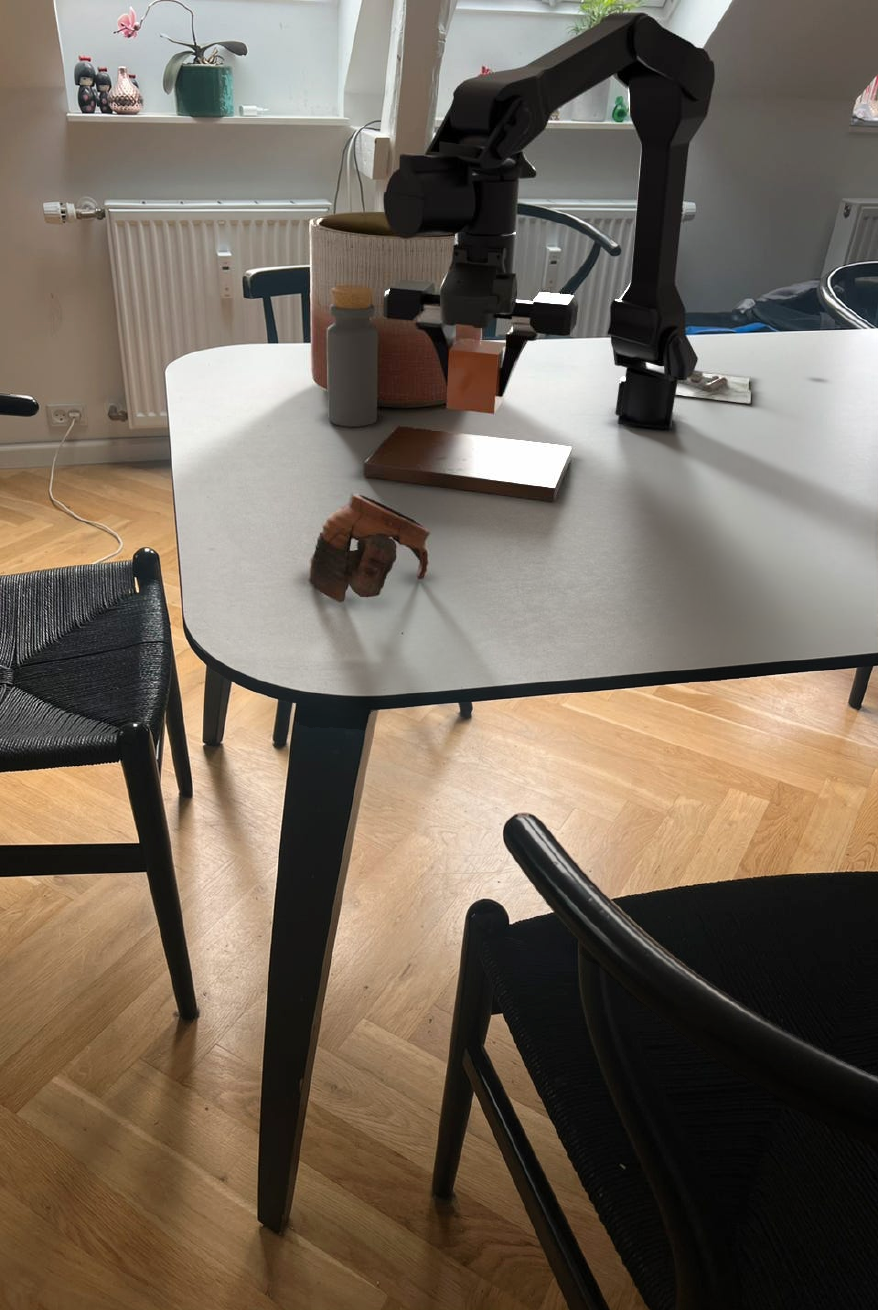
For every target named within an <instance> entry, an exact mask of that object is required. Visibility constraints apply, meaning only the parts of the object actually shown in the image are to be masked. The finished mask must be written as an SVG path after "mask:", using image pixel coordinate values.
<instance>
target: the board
mask: <svg viewBox="0 0 878 1310" xmlns="http://www.w3.org/2000/svg"><path fill="white" fill-rule="evenodd" d="M572 451H573V447H572V446H566V445H560V444H551V443H543V442H534V441H526V440H518V439H511V438H510V439H509V438H501V437H495V436H494V437H493V436H486V435H477V434H468V433H460V432H453V431H443V430H437V429H427V428H420V427H410V426H403V425H397V427H395V429H394V430H393V431H392V433H390V434H389V435H388V437H387V438H386V439H385V440H384V441H383V442H382V443H381V444H380V445H379V446H378V447H377V449H375V450H374V451H373V453H372V454H371V455H370V456H369V457H368V458H367V459H366V460H365V462H364V463H363V477H365V478H370V479H371V478H372V479H379V480H386V481H387V480H388V481H393V482H402V483H410V484H416V485H417V484H418V485H424V486H425V485H426V486H432V487H440V488H447V489H455V490H460V491H461V490H463V491H469V492H477V493H485V494H493V495H498V496H507V497H514V498H523V499H528V500H529V499H530V500H537V501H544V502H545V501H546V502H552V503H553V502H555V499H556V497H557V495H558V492H559V490H560V487H561V484H562V482H563V480H564V478H565V475H566V472H567V469H568V468H569V465H570V462H571V460H572V454H573V453H572Z"/></svg>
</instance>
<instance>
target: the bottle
mask: <svg viewBox="0 0 878 1310" xmlns="http://www.w3.org/2000/svg"><path fill="white" fill-rule="evenodd" d="M331 291H332V296H333V301H334V303H333V304H331V305H330V314H331V315H332V316H334V317H335V323H334V324H332V325H331V326H329V327H328V329H327V383H328V392H327V418H328V421H329V422H331V423H332V424H334V425H337V426H341V427H348V428H349V427H350V428H357V427H366V426H370V425H373V424H374V423H376V422H377V419H378V418H377V417H378V406H377V364H378V332H377V329H376V328H375V327H374V326H373V325H371V324H370V318H371V317H373V316H374V315H375V307H374V306H373V305H372V304H371V300H372V295H373V290H372V289H371V288H368V287H364V286H356V285H344V286H336V287H333V288H332V289H331Z"/></svg>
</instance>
